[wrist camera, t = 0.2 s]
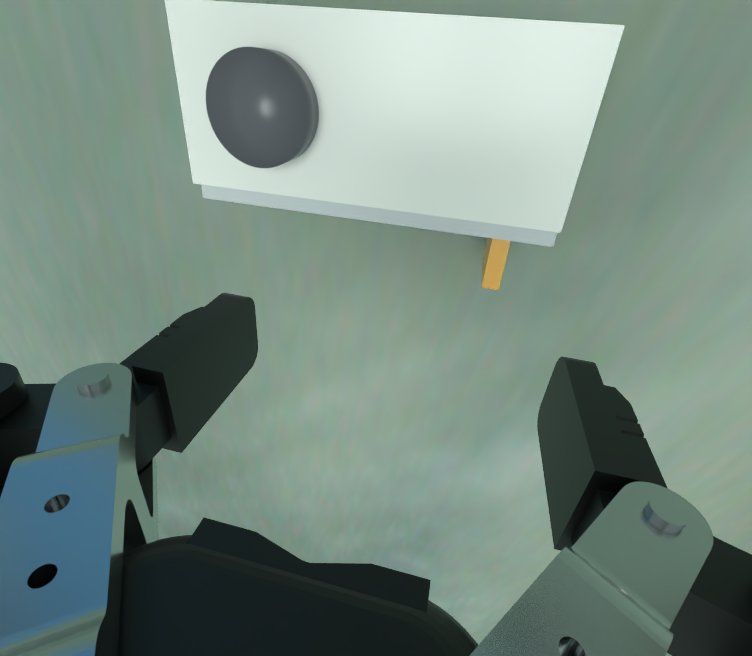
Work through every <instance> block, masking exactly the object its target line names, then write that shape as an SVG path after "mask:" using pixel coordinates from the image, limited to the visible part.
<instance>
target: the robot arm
mask: <svg viewBox="0 0 752 656" xmlns="http://www.w3.org/2000/svg"><path fill="white" fill-rule="evenodd" d="M257 352H258V340H257V328H256V315H255V305H254V302H253V300H252V299H251V298H250V297H244V296H239V295H234V294H228V293H222V294H220V295H219V296H218V297H217V298H215V299H214V300H213V301H212V302H210V303H209V304H208V305H207V306H205V307H200V308H198V309H195V310H193V311H190V312H188V313H186V314H183V315H182V316H181V317H179V318H178V319H177V320H176V321H174V322H173V323H172V324H170V327H166V328H165V329H164V330H163V331H161V332H160V333H159V336H158V335H156V336H155V337H153V338H152V339H151V340H150V341H148V342H147V343H146V344H144V345H143V346H142V347H141V348H139V349H138V350H137V351H135V352H134V353H133V354H131V355H130V356H129V357H128V358H126V359H125V360H124V361H122V362H121V363H120V364H116V363H99V364H93V365H89V366H85V367H82V368H79V369H77V370H75V371H73V372H71V373H69V374H67V375H66V376H64V377H63V378H62V379H60V380H59V381H58V382H57V384H24V383H23V380H22V378H21V376H20V374H19V372H18V369H17V368H16V367H15V366H13V365H10V364H7V363H0V656H665V655H666V653H669V654H671V655H672V656H752V555H751V554H749V553H747V552H745V551H743V550H740V549H738V548H736V547H734V546H732V545H730V544H728V543H726V542H724V541H722V540H720V539H718V538H716V537H714V536H713V534H712V531H711V529H710V526H709V524H708V523H707V521H706V520H705V518H704V517H703V516H702V514H701V513H700V512H699V511H698V510H697V509H696V508H695V507H694V506H693V505H692V504H691V503H689V502H688V501H687V500H686V499H684V498H683V497H681V496H680V495H678V494H677V493H675V492H673V491H671V490H669V489H668V488H667V486H666V484H665V481H664V479H663V477H662V475H661V472H660V470H659V468H658V465H657V463H656V461H655V459H654V456H653V454H652V452H651V449H650V447H649V445H648V443H647V440H646V438H644V433H643V431H642V429H641V427H640V424H637V422H638V420H637V417H636V415H635V413H634V411H633V408H632V406H631V404H630V403H629V402H628V401H627V400H626V399H625V398H624V396H623V395H622V394H621V393H620V392H619V391H618V390H617V389H616V388H615V387H610V386H605V385H604V384H603V382H602V379H601V376H600V374H599V371H598V368H597V366H596V364H595V363H594V362H589V361H583V360H578V359H573V358H567V357H560V358H559V359H558V361H557V363H556V365H555V368H554V371H553V373H552V376H551V379H550V381H549V384H548V387H547V389H546V392H545V395H544V397H543V400H542V403H541V406H540V409H539V414H538V436H539V443H540V450H541V457H542V464H543V471H544V478H545V486H546V493H547V500H548V507H549V514H550V521H551V528H552V536H553V543H554V549H557V550H561V552H560V553H559V554H558V555H557V556H556V557H555V558H554V560H553V561H552V562H551V563H550V564H549V565H548V566H547V568H546V569H545V570H544V571H543V572H542V573H541V574H540V576H539V577H538V578H537V579H536V580H535V581H534V582H533V584H532V585H531V586H530V587H529V588H528V589H527V590H526V592H525V593H524V594H523V595H522V596H521V597H520V598H519V600H518V601H517V602H516V603H515V604H514V605H513V606H512V608H511V609H510V610H509V611H508V612H507V613H506V614H505V616H504V617H503V618H502V619H501V620H500V621H499V622H498V624H497V625H496V626H495V627H494V628H493V629H492V630H491V632H490V633H489V634H488V635H487V636H486V637H485V638H484V640H483V641H482V642H481V643H480V644H479V645H478V644H477V643H476V641H475V640H474V639H473V638H472V637H471V635H470V634H469V633H468V632H467V631H466V629H464V628H463V627H462V626H461V625H460V624H459V623H458V622H457V621H456V620H455V619H454V618H453V617H452V616H451V615H449V614H448V613H447V612H445V611H444V610H443V609H442V608H440V607H439V606H437V605H436V604H434V603H432V602H431V601H429V600H428V597H429V588H430V580H428V579H425V578H421V577H417V576H414V575H410V574H407V573H403V572H399V571H396V570H392V569H388V568H385V567H381V566H378V565H374V564H347V563H308V562H304V561H302V560H301V559H299V558H297V557H296V556H294V555H292V554H291V553H289V552H288V551H286V550H284V549H283V548H281V547H279V546H278V545H276V544H275V543H273V542H271V541H270V540H268V539H267V538H265V537H263V536H262V535H260V534H258V533H257V532H254V531H251V530H247V529H244V528H240V527H236V526H233V525H229V524H225V523H222V522H218V521H215V520H211V519H207V518H203V519H202V521H201V522H200V524H199V526H198V527H197V529H196V530H195V532H194V533H193V535H185V536H176V537H170V538H165V539H161V540H159V534H158V504H157V464H156V459H155V455H156V454H157V453H158V452H159V451H160V450H161V448H164V449H168V450H172V451H176V452H180V453H182V452H183V450H184V449H185V448H186V447H187V446H188V444H189V443H190V442H191V441H192V439H193V438H194V437H195V436H196V435H197V433H198V432H199V431H200V430H201V428H202V427H203V426H204V425H205V424H206V422H207V421H208V420H209V419H210V418H211V416H212V415H213V414H214V413H215V411H216V410H217V409H218V408H219V407H220V405H221V404H222V403H223V402H224V401H225V399H226V398H227V397H228V396H229V394H230V393H231V392H232V391H233V390H234V388H235V387H236V386H237V385H238V384H239V382H240V381H241V380H242V379H243V377H244V376H245V375H246V374H247V373H248V371H249V370H250V369H251V368H252V366H253V364H254V362H255V360H256V357H257Z"/></svg>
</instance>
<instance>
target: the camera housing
mask: <svg viewBox="0 0 752 656" xmlns="http://www.w3.org/2000/svg"><path fill="white" fill-rule="evenodd" d="M165 5H166V11H167V18H168V24H169V31H170V37H171V44H172V50H173V57H174V63H175V69H176V76H177V82H178V89H179V95H180V102H181V108H182V115H183V121H184V128H185V134H186V141H187V147H188V154H189V160H190V166H191V173H192V179H193V183H195V184H201V186H202V193H203V198H208V199H215V200H222V201H229V202H236V203H244V204H251V205H258V206H265V207H272V208H279V209H286V210H293V211H301V212H308V213H315V214H322V215H329V216H336V217H343V218H350V219H358V220H365V221H372V222H379V223H386V224H393V225H400V226H407V227H415V228H422V229H429V230H436V231H443V232H450V233H457V234H464V235H472V236H479V237H486V238H493V239H500V240H507V241H514V242H521V243H529V244H536V245H543V246H550V247H553V246H554V242H555V239H556V236H557V232H558V233H561V231H562V227H563V224H564V221H565V218H566V215H567V211H568V208H569V205H570V202H571V198H572V195H573V192H574V189H575V185H576V182H577V179H578V176H579V172H580V169H581V166H582V163H583V159H584V156H585V153H586V150H587V147H588V143H589V140H590V137H591V134H592V130H593V127H594V124H595V121H596V117H597V114H598V111H599V108H600V104H601V101H602V98H603V95H604V91H605V88H606V85H607V82H608V79H609V75H610V72H611V69H612V66H613V62H614V59H615V56H616V53H617V49H618V46H619V43H620V40H621V36H622V33H623V30H624V27H625V25H612V24H595V23H578V22H561V21H544V20H528V19H511V18H494V17H477V16H461V15H444V14H427V13H410V12H393V11H377V10H360V9H343V8H326V7H310V6H293V5H276V4H259V3H242V2H226V1H209V0H165Z"/></svg>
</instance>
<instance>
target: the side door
mask: <svg viewBox="0 0 752 656" xmlns="http://www.w3.org/2000/svg"><path fill="white" fill-rule="evenodd" d="M510 242H511V241H507V240H500V239H493V238H487V240H486V245H485V249H484V254H483V263H482V288H488V289H494V290H499V286H500V282H501V278H502V274H503V270H504V266H505V262H506V258H507V254H508V250H509V246H510Z"/></svg>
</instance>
